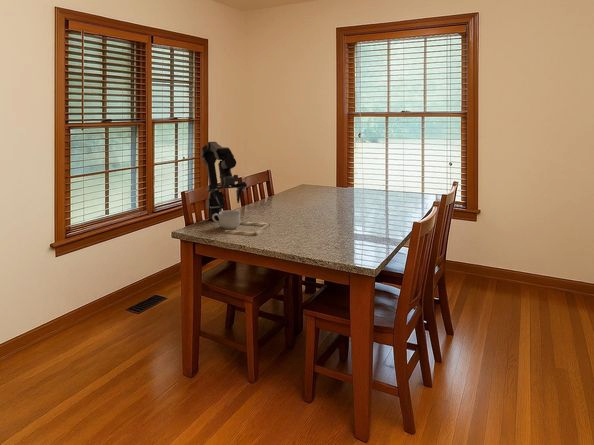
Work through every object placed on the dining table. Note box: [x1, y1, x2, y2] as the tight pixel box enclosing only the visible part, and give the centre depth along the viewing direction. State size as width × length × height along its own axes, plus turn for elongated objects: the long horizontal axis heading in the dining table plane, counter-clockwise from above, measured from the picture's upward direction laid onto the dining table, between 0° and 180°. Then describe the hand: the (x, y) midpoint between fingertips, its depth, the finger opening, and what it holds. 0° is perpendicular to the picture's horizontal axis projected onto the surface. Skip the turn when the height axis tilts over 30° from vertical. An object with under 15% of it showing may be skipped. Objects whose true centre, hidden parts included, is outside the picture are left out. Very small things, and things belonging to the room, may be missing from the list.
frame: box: [224, 221, 271, 236], centre depth 228 cm, size 16×20×1 cm
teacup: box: [212, 210, 241, 230], centre depth 230 cm, size 14×11×8 cm
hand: (229, 203), depth 224 cm, fingers open, 9 cm apart
